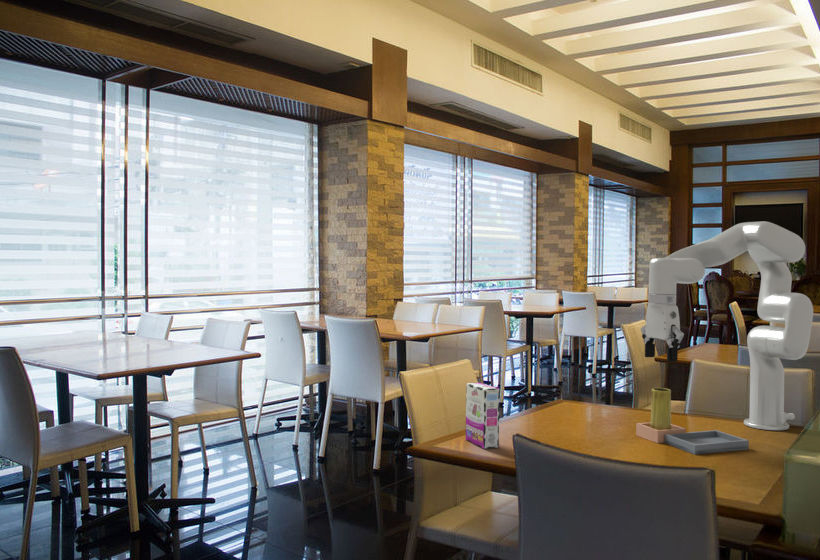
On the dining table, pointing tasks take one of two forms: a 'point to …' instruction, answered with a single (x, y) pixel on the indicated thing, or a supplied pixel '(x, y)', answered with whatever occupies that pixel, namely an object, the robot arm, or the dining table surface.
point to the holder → (656, 432)
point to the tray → (706, 442)
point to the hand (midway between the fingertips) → (660, 359)
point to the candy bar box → (482, 415)
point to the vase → (661, 409)
